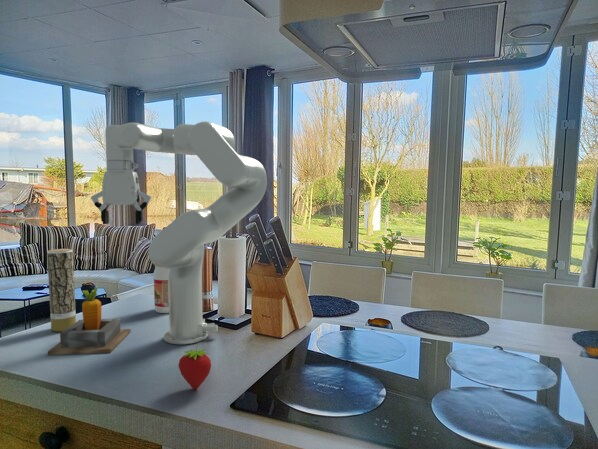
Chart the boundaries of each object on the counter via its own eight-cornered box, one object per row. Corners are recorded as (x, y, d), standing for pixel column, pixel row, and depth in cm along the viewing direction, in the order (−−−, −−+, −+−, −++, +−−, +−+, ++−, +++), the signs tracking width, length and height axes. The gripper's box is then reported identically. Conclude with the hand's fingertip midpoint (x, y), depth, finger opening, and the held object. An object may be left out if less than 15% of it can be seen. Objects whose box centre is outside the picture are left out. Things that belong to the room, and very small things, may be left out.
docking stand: (130, 332, 123) (130, 316, 122) (110, 352, 107) (109, 334, 106) (76, 333, 121) (75, 317, 121) (47, 354, 105) (47, 336, 105)
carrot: (81, 343, 111) (79, 290, 110) (85, 337, 116) (83, 286, 114) (101, 341, 112) (99, 289, 111) (104, 335, 117) (102, 285, 116)
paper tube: (68, 332, 122) (64, 251, 120) (46, 332, 122) (42, 251, 120) (80, 325, 129) (77, 248, 127) (59, 325, 129) (56, 248, 127)
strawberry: (190, 379, 91) (189, 336, 91) (217, 385, 88) (217, 341, 88) (172, 391, 86) (171, 346, 85) (200, 398, 83) (199, 351, 82)
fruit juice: (175, 314, 141) (173, 235, 139) (150, 313, 142) (147, 235, 140) (185, 306, 150) (183, 232, 148) (161, 306, 151) (159, 232, 149)
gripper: (153, 168, 125) (154, 222, 126) (95, 168, 124) (98, 223, 125) (146, 166, 118) (147, 224, 119) (84, 166, 116) (87, 225, 117)
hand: (122, 223), depth 122 cm, fingers open, 9 cm apart
